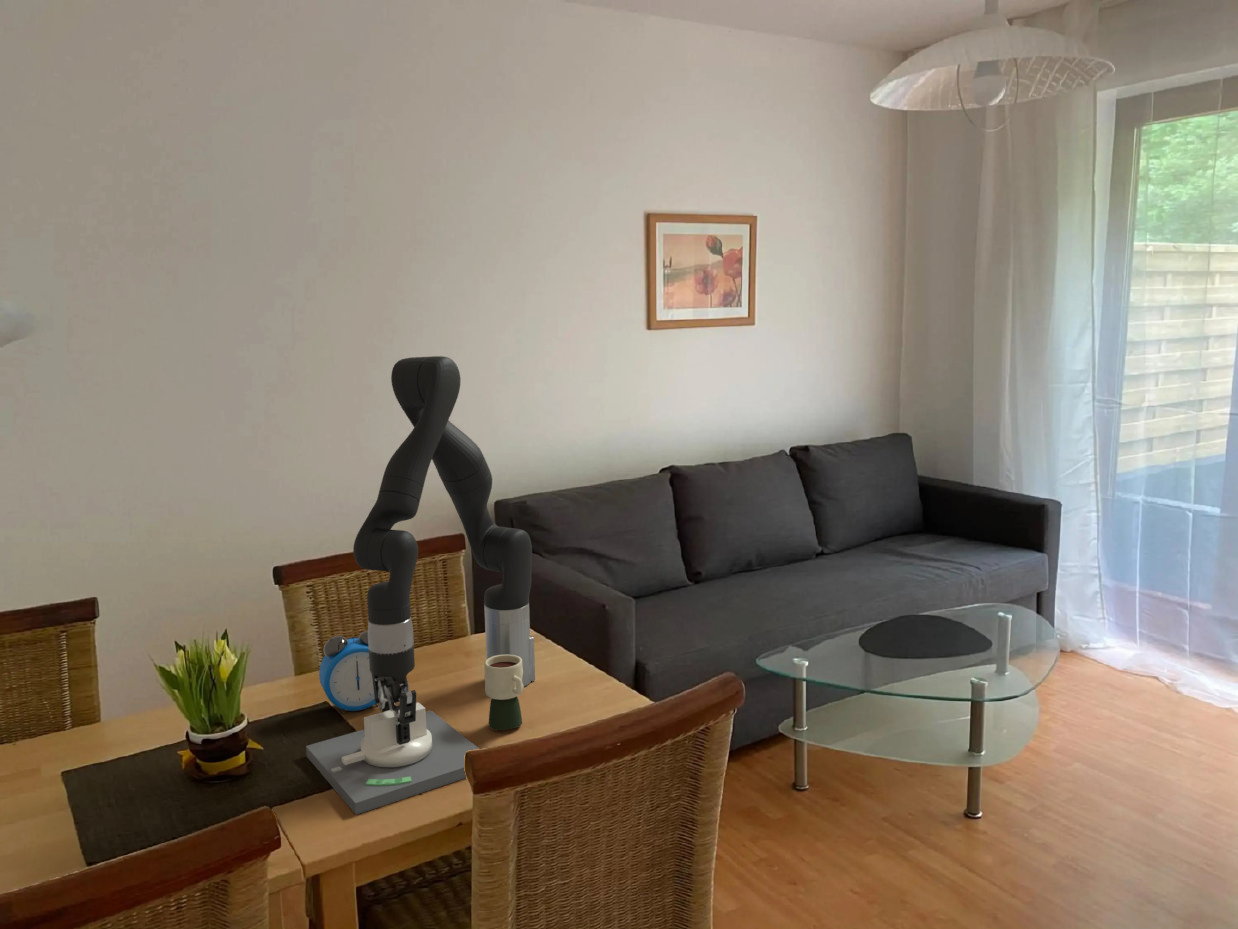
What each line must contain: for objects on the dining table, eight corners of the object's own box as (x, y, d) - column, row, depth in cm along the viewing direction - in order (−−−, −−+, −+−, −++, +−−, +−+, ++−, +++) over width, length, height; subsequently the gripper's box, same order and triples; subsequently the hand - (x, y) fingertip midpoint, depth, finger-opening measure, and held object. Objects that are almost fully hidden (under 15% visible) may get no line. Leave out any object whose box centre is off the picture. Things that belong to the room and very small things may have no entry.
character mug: (537, 730, 176) (535, 664, 174) (505, 742, 171) (503, 674, 169) (505, 711, 184) (503, 648, 182) (474, 722, 180) (471, 657, 177)
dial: (414, 728, 172) (413, 692, 171) (443, 753, 162) (442, 715, 161) (331, 753, 163) (328, 715, 162) (356, 781, 154) (354, 741, 152)
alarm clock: (326, 719, 182) (321, 645, 179) (320, 707, 187) (315, 635, 185) (394, 705, 188) (390, 633, 185) (386, 693, 193) (382, 624, 190)
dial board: (431, 720, 181) (431, 709, 180) (491, 769, 162) (491, 756, 161) (306, 756, 167) (305, 744, 166) (356, 815, 148) (355, 801, 147)
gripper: (429, 651, 157) (434, 745, 160) (395, 627, 168) (399, 716, 171) (386, 661, 152) (392, 758, 155) (354, 636, 164) (360, 727, 167)
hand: (396, 736), depth 163 cm, fingers open, 5 cm apart
